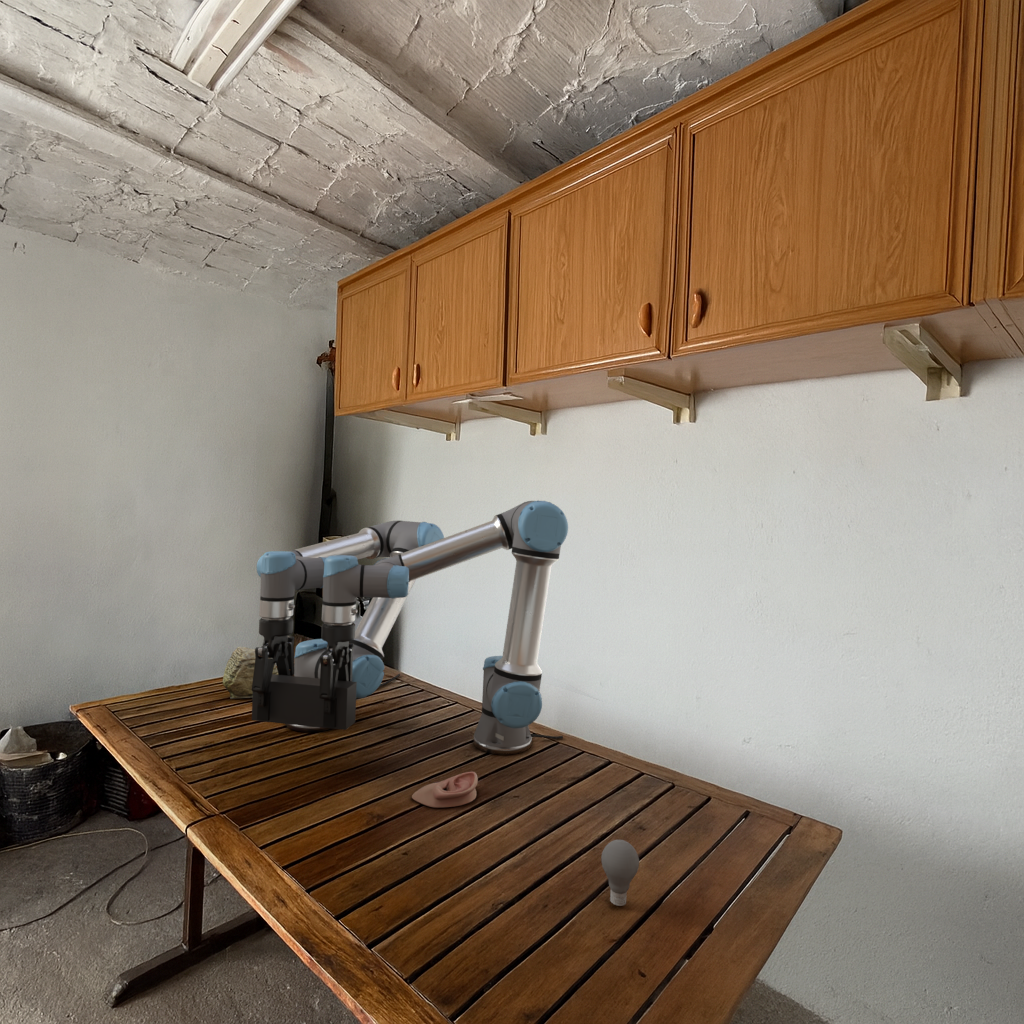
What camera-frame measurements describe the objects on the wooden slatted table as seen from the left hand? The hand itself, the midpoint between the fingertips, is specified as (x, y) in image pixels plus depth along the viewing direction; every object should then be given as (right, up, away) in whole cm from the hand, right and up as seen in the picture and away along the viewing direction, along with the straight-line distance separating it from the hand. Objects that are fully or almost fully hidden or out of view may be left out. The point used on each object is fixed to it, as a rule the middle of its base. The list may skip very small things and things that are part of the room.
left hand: (272, 713), depth 149 cm
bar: (+8, -1, -1) cm, 8 cm away
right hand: (+15, -1, -2) cm, 16 cm away
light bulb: (+73, -16, -47) cm, 89 cm away
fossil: (-24, -10, +49) cm, 56 cm away
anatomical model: (+42, -14, -13) cm, 46 cm away
